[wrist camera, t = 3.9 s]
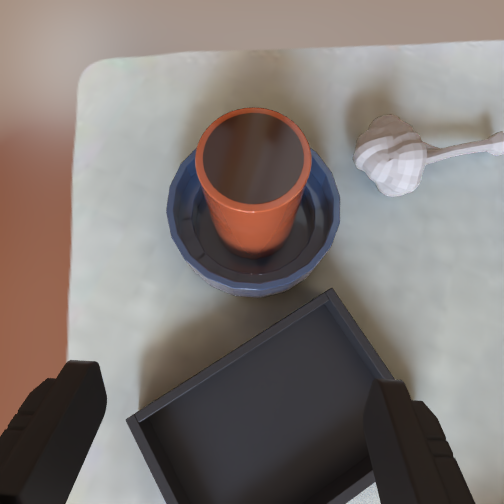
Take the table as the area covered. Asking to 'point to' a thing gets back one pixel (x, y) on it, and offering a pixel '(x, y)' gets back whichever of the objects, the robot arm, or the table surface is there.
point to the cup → (253, 179)
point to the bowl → (253, 270)
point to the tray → (269, 417)
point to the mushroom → (406, 154)
